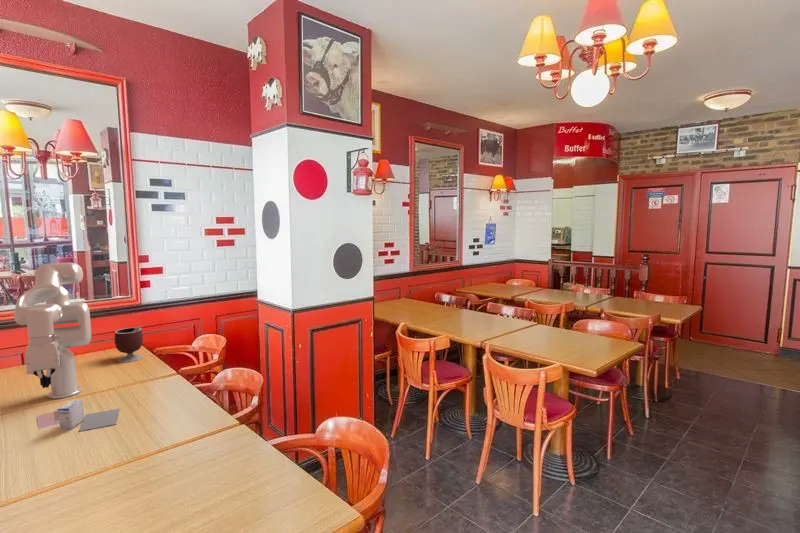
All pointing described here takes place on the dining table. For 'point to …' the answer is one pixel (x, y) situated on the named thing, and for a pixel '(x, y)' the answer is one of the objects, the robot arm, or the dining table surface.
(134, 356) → the mate gourd
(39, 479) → the dining table surface
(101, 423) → the mat
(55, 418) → the mobile phone
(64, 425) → the medicine box
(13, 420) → the dining table surface
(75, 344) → the robot arm
